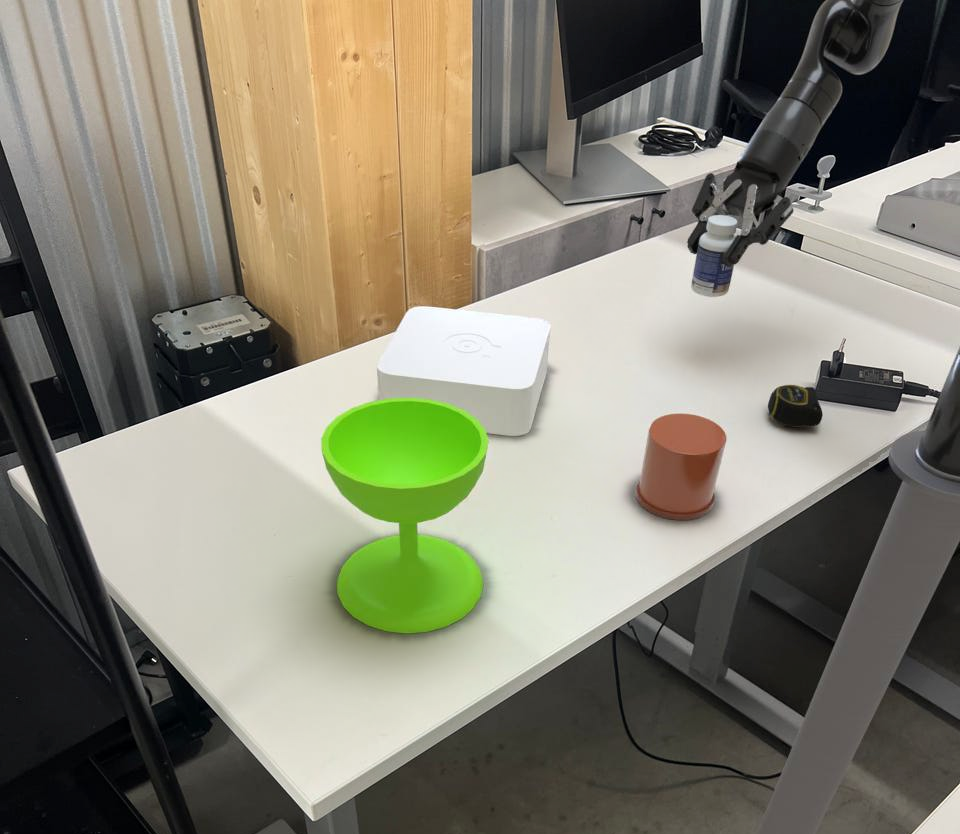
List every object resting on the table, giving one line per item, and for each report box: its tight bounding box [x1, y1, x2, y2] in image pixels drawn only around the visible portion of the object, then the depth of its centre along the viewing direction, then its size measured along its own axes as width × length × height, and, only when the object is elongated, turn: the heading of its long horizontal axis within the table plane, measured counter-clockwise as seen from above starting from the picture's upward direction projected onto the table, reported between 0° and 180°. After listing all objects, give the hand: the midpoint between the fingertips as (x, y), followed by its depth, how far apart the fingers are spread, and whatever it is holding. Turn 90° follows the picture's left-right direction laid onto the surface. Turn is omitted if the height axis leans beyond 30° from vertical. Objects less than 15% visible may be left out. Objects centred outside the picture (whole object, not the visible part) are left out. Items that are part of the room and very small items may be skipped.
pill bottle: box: [690, 215, 738, 298], centre depth 128 cm, size 5×5×10 cm
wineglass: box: [320, 398, 489, 634], centre depth 94 cm, size 16×16×18 cm
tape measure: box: [767, 384, 823, 428], centre depth 126 cm, size 7×7×4 cm
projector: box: [376, 305, 551, 437], centre depth 129 cm, size 21×22×7 cm
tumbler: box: [635, 412, 728, 521], centre depth 110 cm, size 10×10×9 cm
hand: (708, 256), depth 127 cm, fingers closed on pill bottle, 5 cm apart
